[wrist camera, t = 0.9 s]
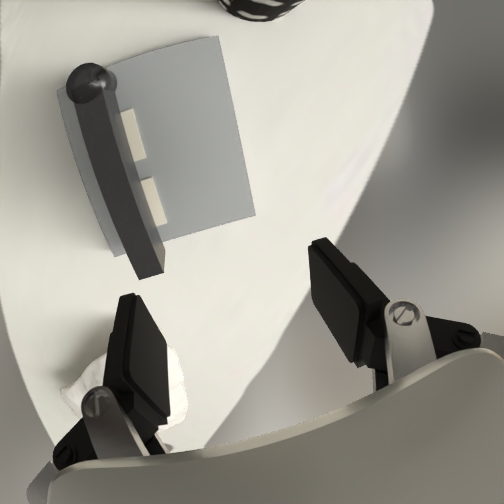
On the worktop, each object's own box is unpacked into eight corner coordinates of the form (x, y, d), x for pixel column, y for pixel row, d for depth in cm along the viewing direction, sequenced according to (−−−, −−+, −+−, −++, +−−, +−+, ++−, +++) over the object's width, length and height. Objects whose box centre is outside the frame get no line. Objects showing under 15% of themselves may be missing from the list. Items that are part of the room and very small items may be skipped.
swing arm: (80, 77, 16) (62, 74, 13) (113, 63, 17) (100, 56, 13) (139, 258, 26) (135, 281, 23) (169, 249, 27) (168, 271, 23)
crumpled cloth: (71, 415, 41) (73, 452, 34) (47, 296, 27) (34, 352, 20) (170, 419, 53) (180, 453, 46) (212, 313, 39) (232, 363, 32)
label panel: (62, 90, 19) (48, 90, 16) (216, 39, 20) (220, 30, 18) (117, 250, 29) (111, 265, 26) (252, 210, 31) (260, 222, 28)
